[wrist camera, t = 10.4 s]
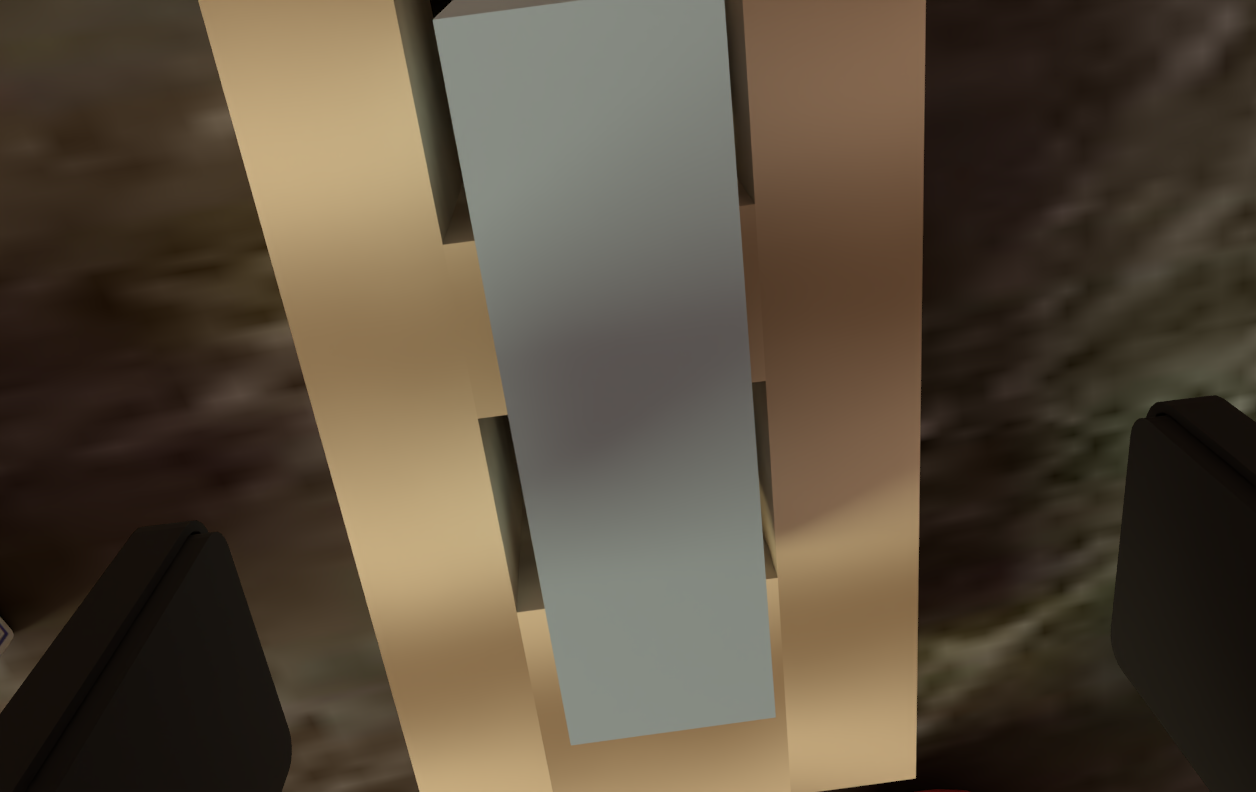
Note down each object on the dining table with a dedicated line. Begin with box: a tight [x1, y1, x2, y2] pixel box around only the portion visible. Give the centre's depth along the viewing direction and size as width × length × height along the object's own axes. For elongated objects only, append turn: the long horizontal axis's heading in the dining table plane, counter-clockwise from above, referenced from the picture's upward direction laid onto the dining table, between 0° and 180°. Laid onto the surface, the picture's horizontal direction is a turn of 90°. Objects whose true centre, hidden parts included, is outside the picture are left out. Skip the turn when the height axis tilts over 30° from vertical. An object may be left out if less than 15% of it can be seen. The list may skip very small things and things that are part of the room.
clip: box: [433, 0, 776, 745], centre depth 16 cm, size 10×3×8 cm, turn 7°
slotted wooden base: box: [198, 0, 926, 792], centre depth 18 cm, size 22×10×4 cm, turn 7°
